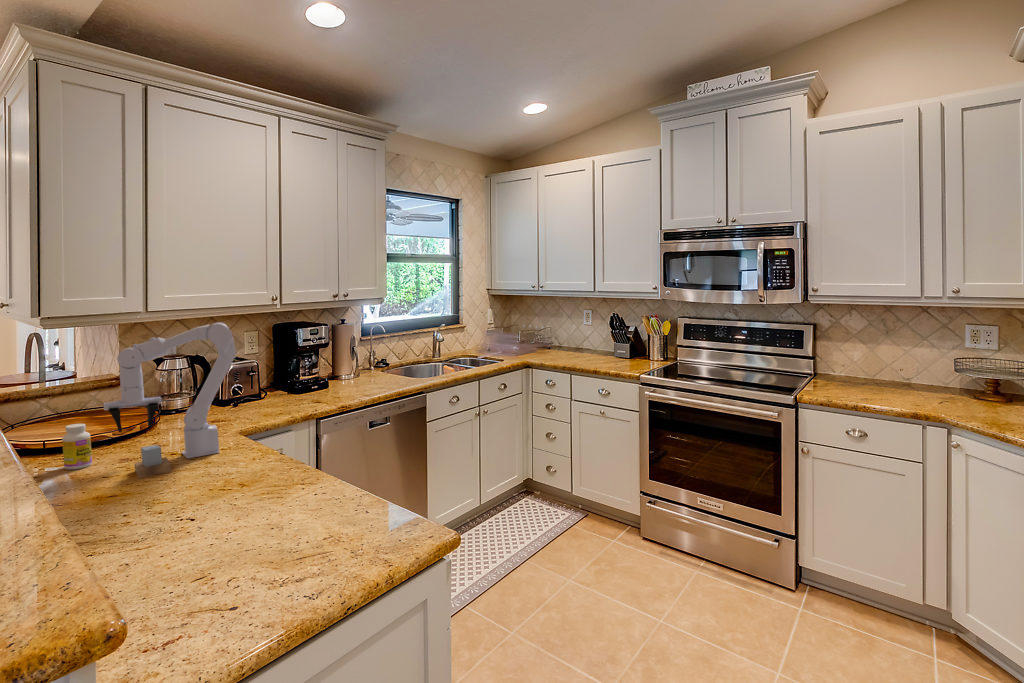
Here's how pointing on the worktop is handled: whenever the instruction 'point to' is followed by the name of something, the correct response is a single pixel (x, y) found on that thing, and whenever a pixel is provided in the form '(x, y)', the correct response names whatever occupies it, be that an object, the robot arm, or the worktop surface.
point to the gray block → (151, 455)
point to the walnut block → (153, 469)
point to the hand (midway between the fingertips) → (135, 429)
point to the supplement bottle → (76, 447)
